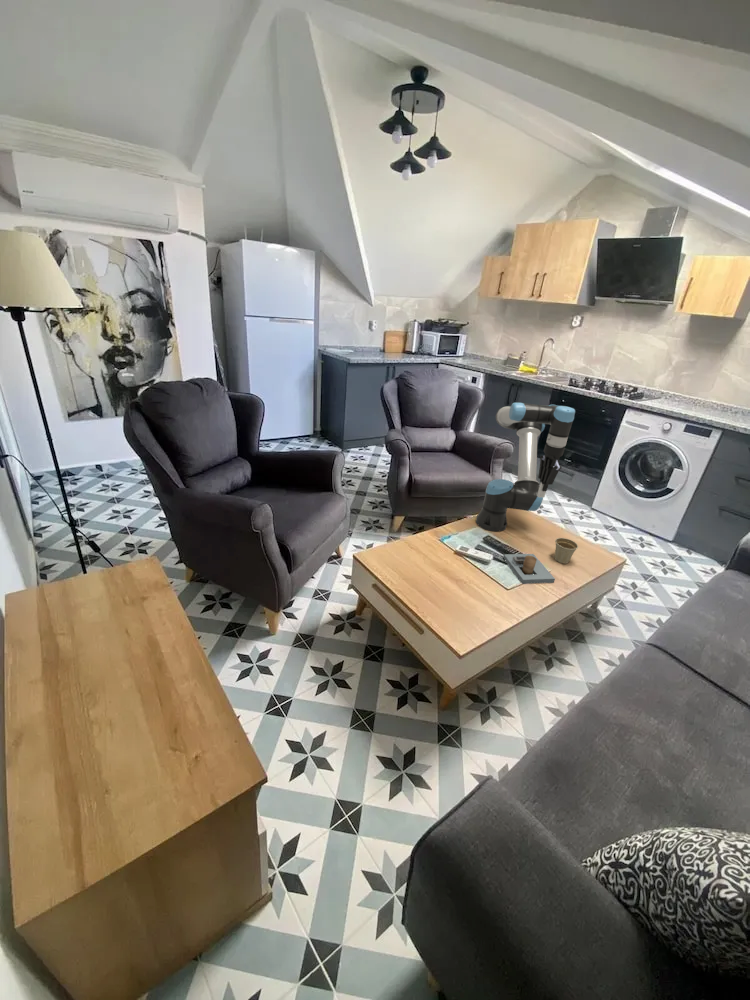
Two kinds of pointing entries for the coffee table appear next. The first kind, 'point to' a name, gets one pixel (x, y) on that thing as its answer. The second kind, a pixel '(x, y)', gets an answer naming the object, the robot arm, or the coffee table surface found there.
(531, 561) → the walnut peg
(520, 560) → the bar
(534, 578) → the housing plate
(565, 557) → the flower pot
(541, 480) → the robot arm
